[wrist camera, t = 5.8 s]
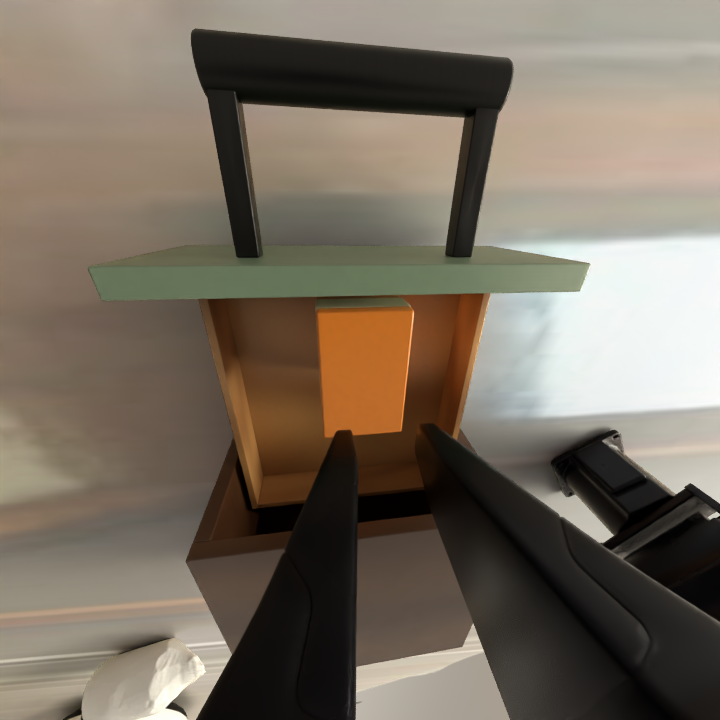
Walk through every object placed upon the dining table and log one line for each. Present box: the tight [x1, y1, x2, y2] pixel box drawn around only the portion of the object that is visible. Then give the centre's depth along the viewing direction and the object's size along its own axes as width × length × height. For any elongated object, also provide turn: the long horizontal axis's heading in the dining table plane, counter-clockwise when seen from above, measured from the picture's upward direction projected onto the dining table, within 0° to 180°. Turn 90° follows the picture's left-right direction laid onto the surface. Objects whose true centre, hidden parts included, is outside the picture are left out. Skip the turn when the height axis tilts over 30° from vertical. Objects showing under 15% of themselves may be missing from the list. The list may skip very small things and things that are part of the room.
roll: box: [81, 638, 205, 720], centre depth 30 cm, size 6×12×6 cm, turn 107°
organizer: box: [186, 428, 477, 667], centre depth 21 cm, size 16×16×9 cm
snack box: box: [315, 295, 414, 438], centre depth 13 cm, size 6×3×6 cm, turn 179°
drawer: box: [88, 29, 590, 509], centre depth 14 cm, size 22×16×6 cm
